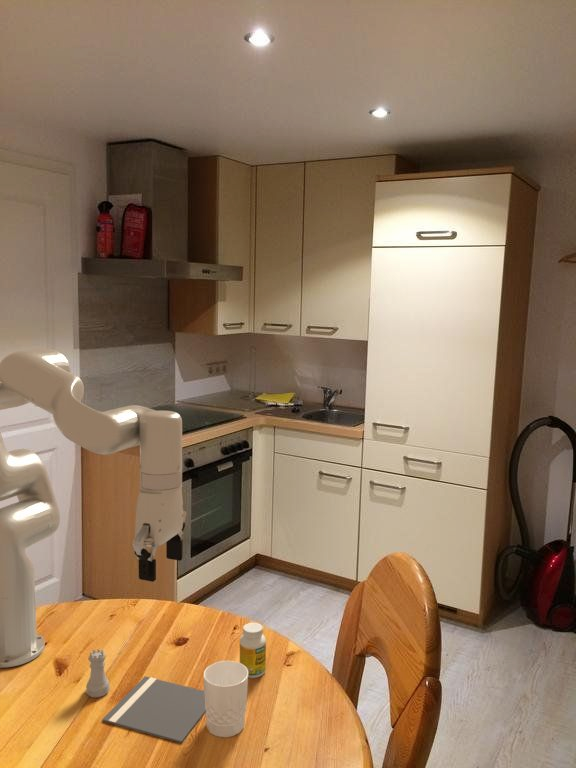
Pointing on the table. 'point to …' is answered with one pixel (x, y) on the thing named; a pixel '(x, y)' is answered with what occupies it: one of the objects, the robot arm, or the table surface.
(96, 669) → the rook chess piece
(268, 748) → the table surface
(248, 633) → the supplement bottle
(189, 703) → the mat
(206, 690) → the white cup
